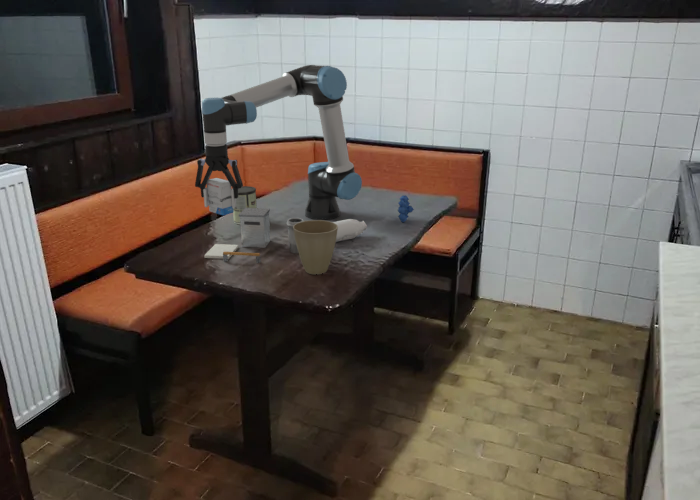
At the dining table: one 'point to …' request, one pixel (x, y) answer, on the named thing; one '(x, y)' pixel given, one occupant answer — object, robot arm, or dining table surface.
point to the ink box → (219, 196)
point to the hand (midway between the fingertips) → (220, 206)
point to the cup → (291, 235)
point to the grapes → (404, 208)
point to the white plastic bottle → (349, 229)
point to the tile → (220, 251)
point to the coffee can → (244, 201)
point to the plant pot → (315, 244)
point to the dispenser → (253, 231)
